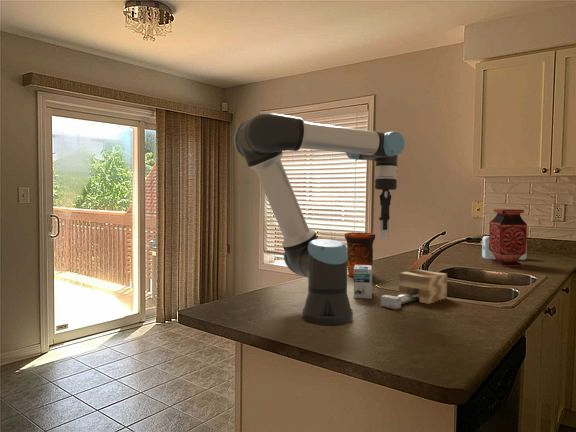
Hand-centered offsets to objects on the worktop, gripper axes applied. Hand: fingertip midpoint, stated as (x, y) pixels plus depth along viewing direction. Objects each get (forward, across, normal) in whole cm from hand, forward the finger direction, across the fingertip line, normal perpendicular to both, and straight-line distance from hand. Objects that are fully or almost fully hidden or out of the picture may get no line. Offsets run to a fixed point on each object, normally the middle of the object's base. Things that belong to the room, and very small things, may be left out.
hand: (384, 238), depth 153 cm
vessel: (+22, +47, +10) cm, 52 cm away
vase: (+19, +92, -67) cm, 115 cm away
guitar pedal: (+18, +116, -72) cm, 138 cm away
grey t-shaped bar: (+22, -5, -7) cm, 24 cm away
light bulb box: (+22, +5, +7) cm, 24 cm away
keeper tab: (+9, +7, -13) cm, 18 cm away
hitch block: (+22, +4, -14) cm, 26 cm away
